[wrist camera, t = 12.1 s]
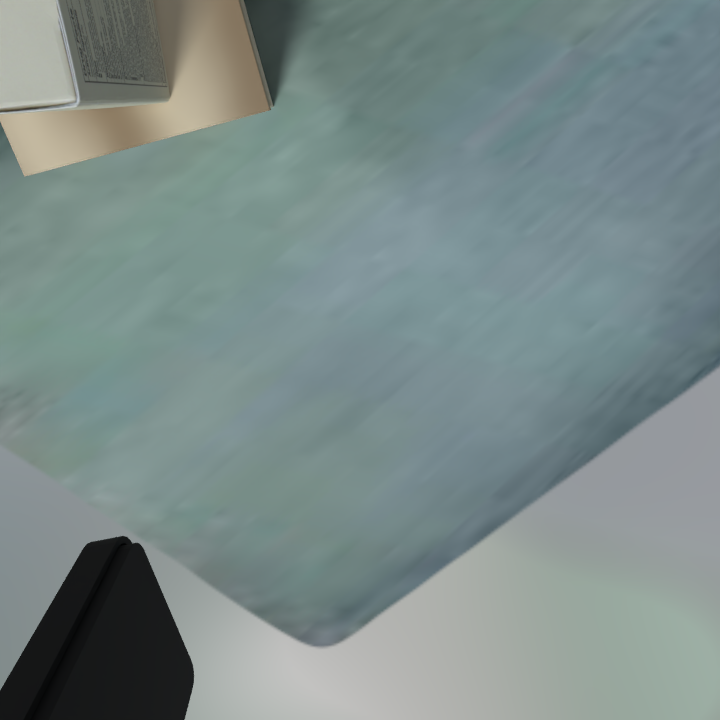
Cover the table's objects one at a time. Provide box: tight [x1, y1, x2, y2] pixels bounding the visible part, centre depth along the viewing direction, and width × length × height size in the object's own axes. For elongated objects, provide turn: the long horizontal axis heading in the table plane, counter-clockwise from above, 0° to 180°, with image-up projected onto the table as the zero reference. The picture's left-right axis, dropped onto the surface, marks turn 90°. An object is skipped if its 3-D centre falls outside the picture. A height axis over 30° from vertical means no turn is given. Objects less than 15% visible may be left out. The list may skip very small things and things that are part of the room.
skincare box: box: [0, 0, 170, 115], centre depth 23 cm, size 6×4×12 cm
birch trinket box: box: [0, 0, 273, 176], centre depth 31 cm, size 12×9×5 cm
